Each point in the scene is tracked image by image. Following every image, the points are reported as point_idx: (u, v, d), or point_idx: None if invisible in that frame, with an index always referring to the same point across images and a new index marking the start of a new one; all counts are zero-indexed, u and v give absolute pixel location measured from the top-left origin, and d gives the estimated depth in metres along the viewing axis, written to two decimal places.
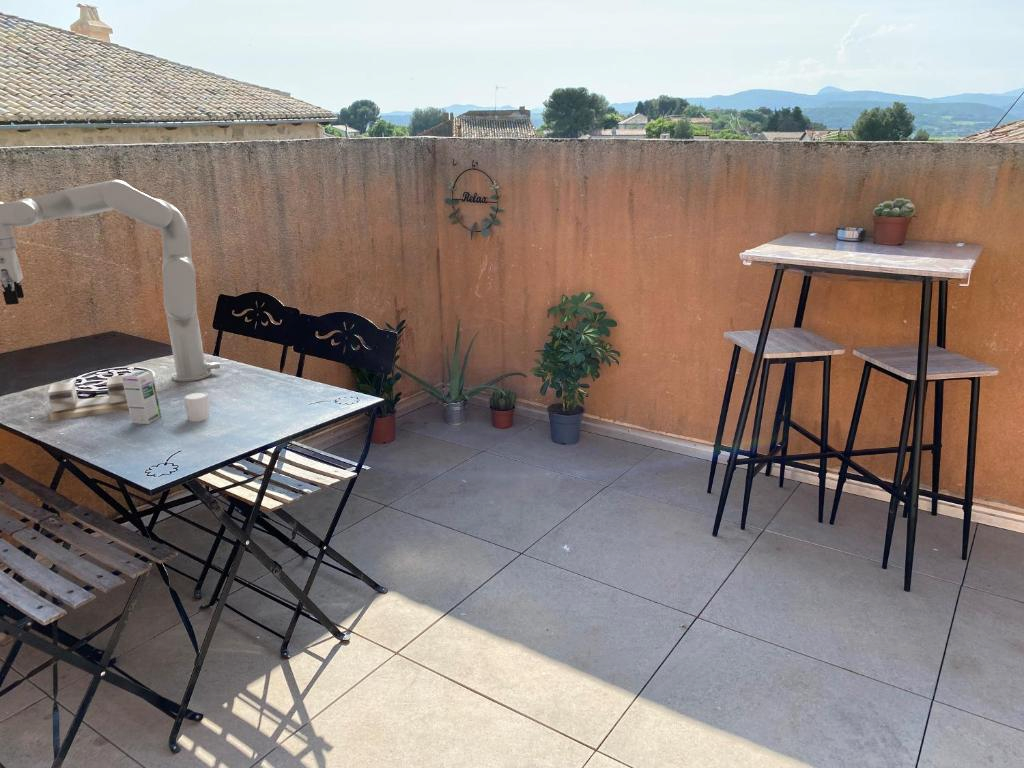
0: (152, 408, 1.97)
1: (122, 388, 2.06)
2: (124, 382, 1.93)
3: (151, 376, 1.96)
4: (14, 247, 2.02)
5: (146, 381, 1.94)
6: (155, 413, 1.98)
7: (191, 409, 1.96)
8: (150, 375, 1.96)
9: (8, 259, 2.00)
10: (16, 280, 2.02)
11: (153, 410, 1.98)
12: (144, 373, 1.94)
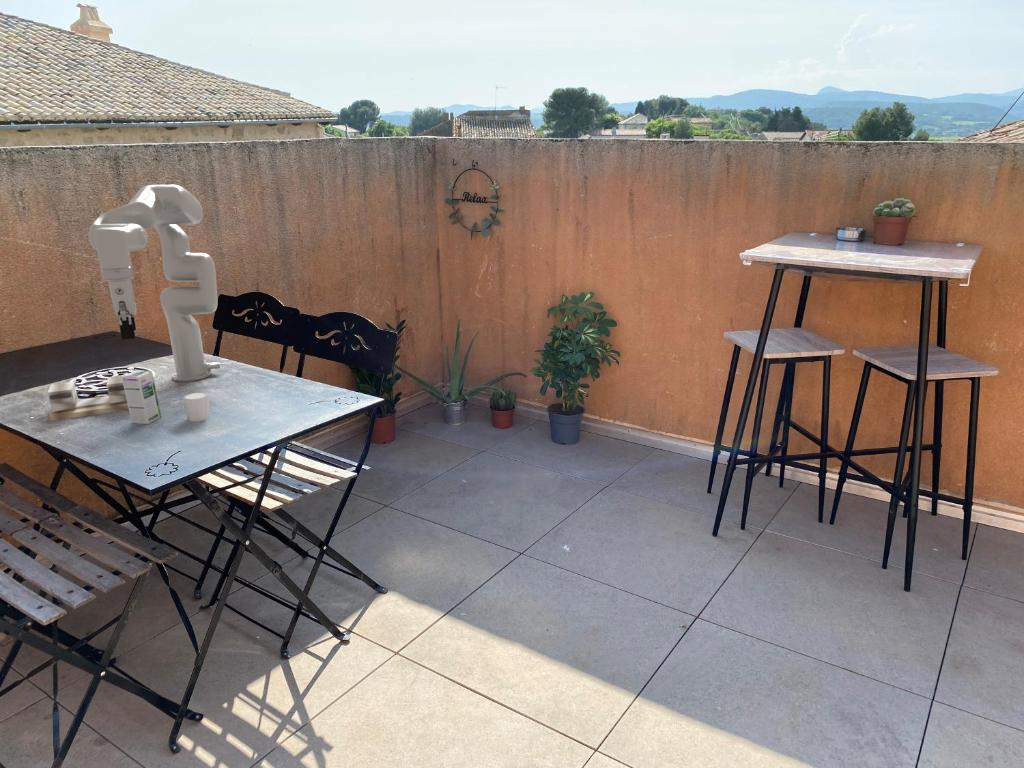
0: (152, 408, 1.97)
1: (122, 388, 2.06)
2: (124, 382, 1.93)
3: (151, 376, 1.96)
4: (131, 276, 1.85)
5: (146, 381, 1.94)
6: (155, 413, 1.98)
7: (191, 409, 1.96)
8: (150, 375, 1.96)
9: (126, 290, 1.83)
10: (134, 313, 1.85)
11: (153, 410, 1.98)
12: (144, 373, 1.94)
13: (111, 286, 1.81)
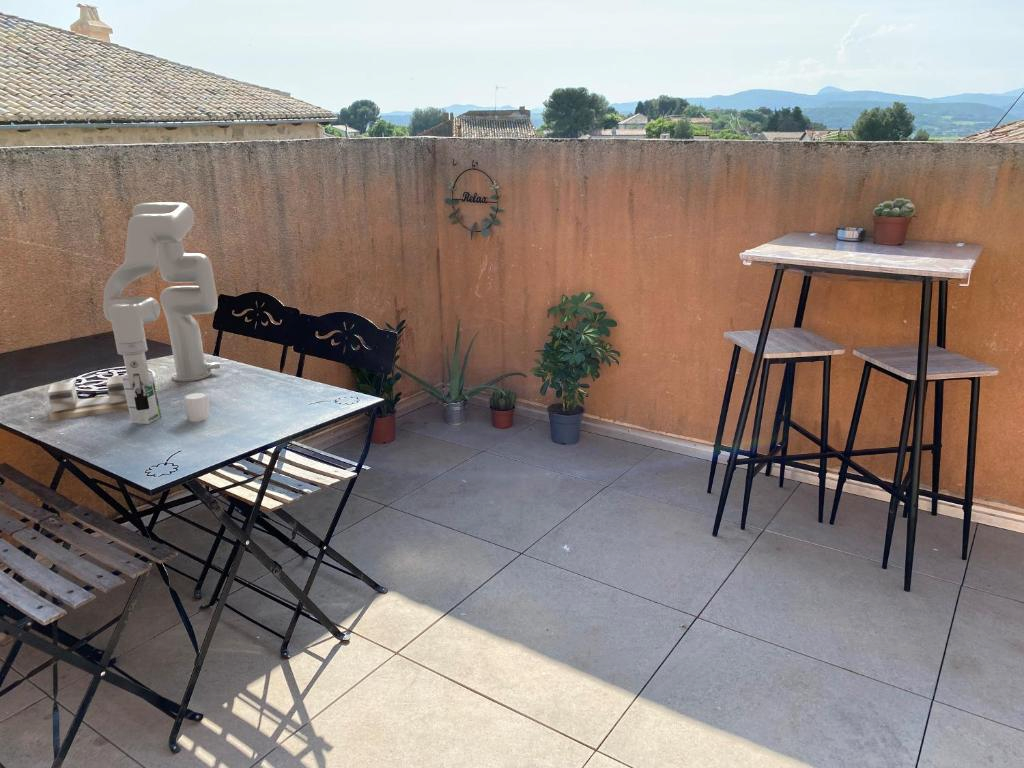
0: (152, 408, 1.97)
1: (122, 388, 2.06)
2: (124, 382, 1.93)
3: (151, 376, 1.96)
4: (145, 349, 1.92)
5: None
6: (155, 413, 1.98)
7: (191, 409, 1.96)
8: (150, 375, 1.96)
9: (140, 363, 1.89)
10: (147, 384, 1.92)
11: (153, 410, 1.98)
12: None
13: (126, 360, 1.88)
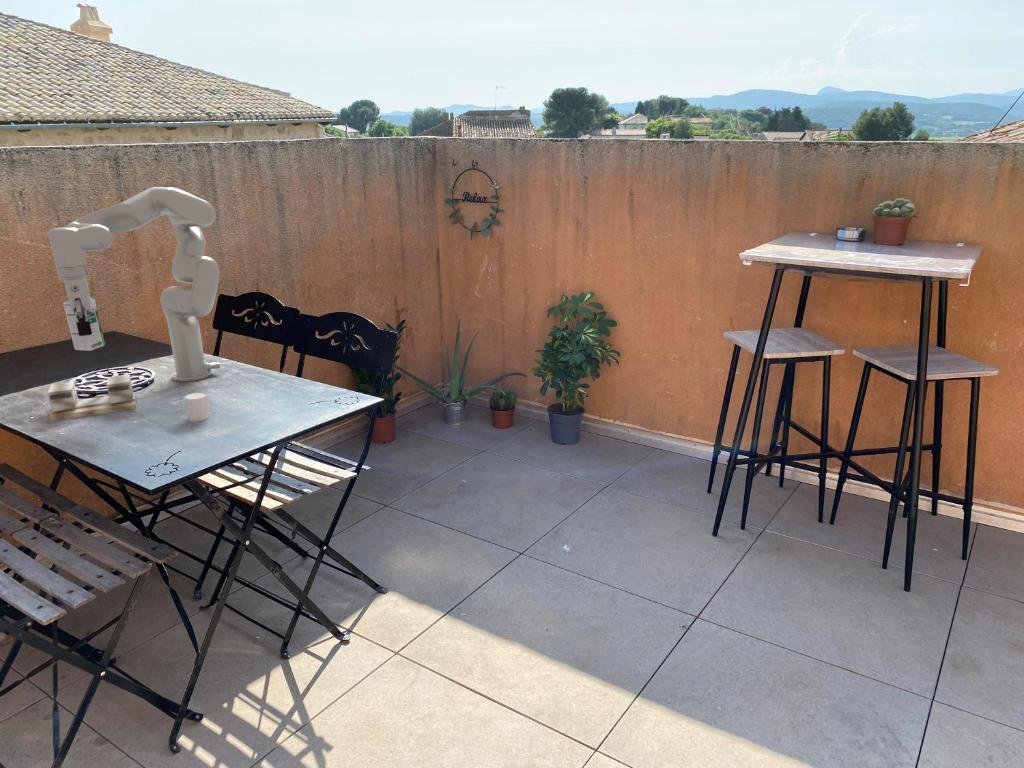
0: (95, 335, 1.98)
1: (122, 388, 2.06)
2: (66, 308, 1.94)
3: (93, 303, 1.97)
4: (87, 274, 1.93)
5: None
6: (98, 341, 2.00)
7: (191, 409, 1.96)
8: (93, 302, 1.97)
9: (82, 287, 1.91)
10: (89, 309, 1.93)
11: (97, 337, 1.99)
12: None
13: (66, 284, 1.89)
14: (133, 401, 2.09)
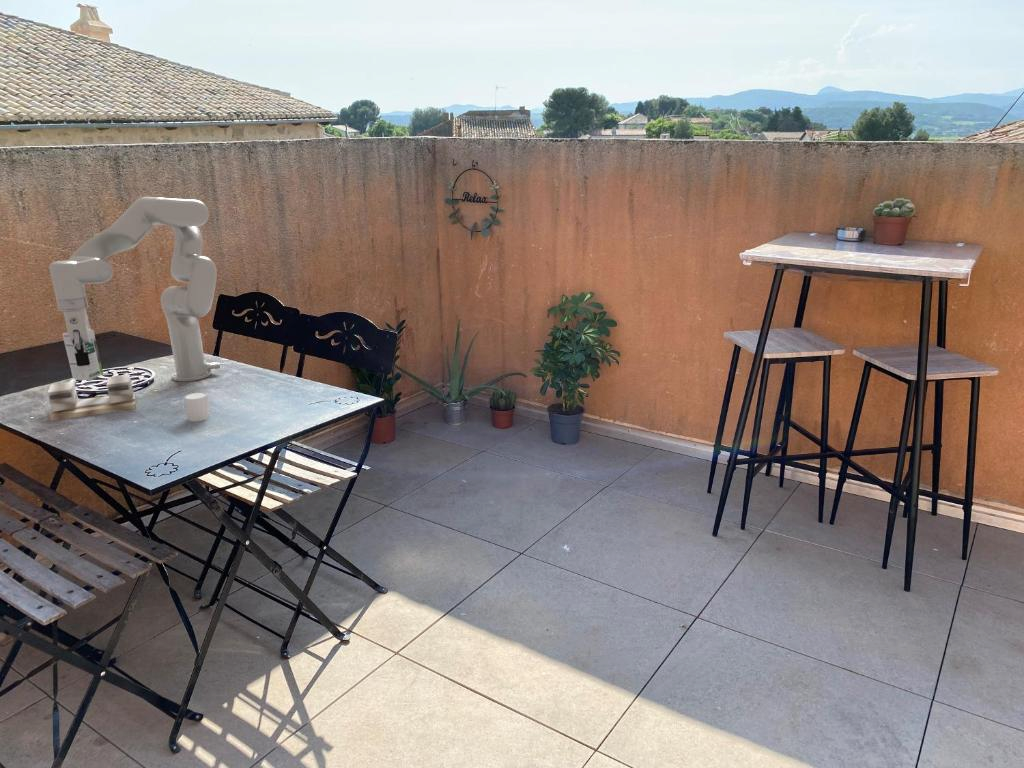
0: (93, 365, 2.03)
1: (122, 388, 2.06)
2: (65, 339, 1.98)
3: (92, 334, 2.02)
4: (86, 306, 1.98)
5: None
6: (96, 370, 2.04)
7: (191, 409, 1.96)
8: (91, 333, 2.02)
9: (80, 319, 1.95)
10: (87, 340, 1.98)
11: (95, 367, 2.03)
12: None
13: (66, 316, 1.94)
14: (133, 401, 2.09)
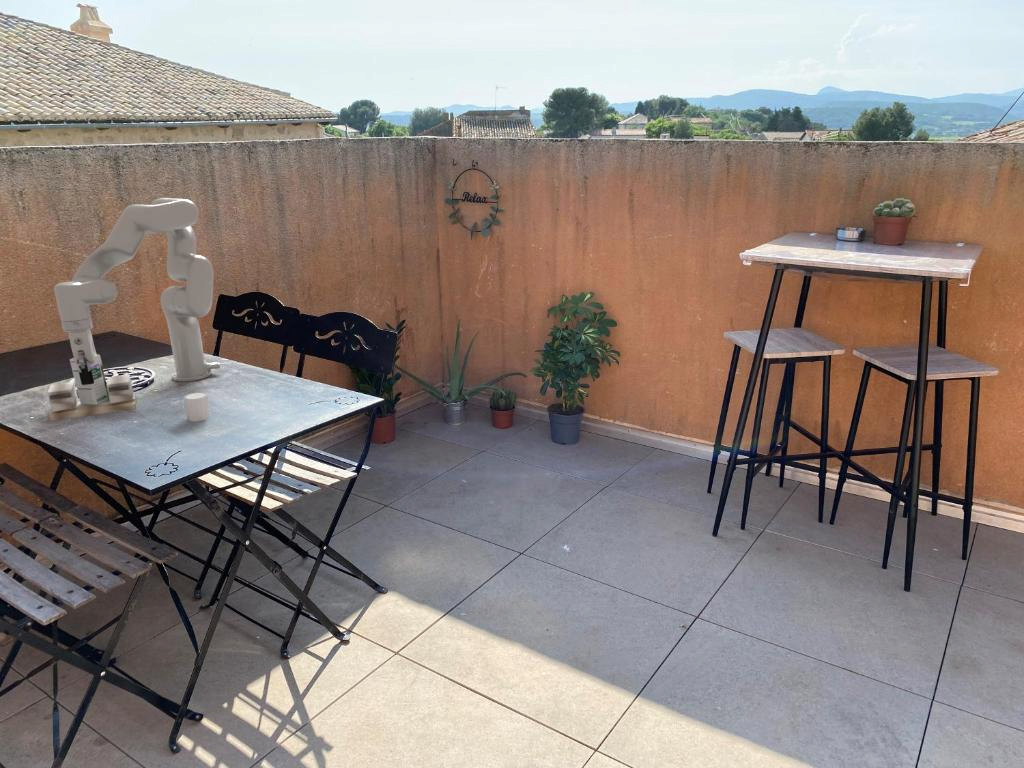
0: (100, 389, 2.06)
1: (122, 388, 2.06)
2: (72, 364, 2.01)
3: (99, 359, 2.05)
4: (90, 327, 2.00)
5: (94, 364, 2.03)
6: (103, 395, 2.07)
7: (191, 409, 1.96)
8: (98, 358, 2.05)
9: (85, 340, 1.97)
10: (92, 360, 2.00)
11: (102, 391, 2.06)
12: None
13: (70, 337, 1.96)
14: (133, 401, 2.09)
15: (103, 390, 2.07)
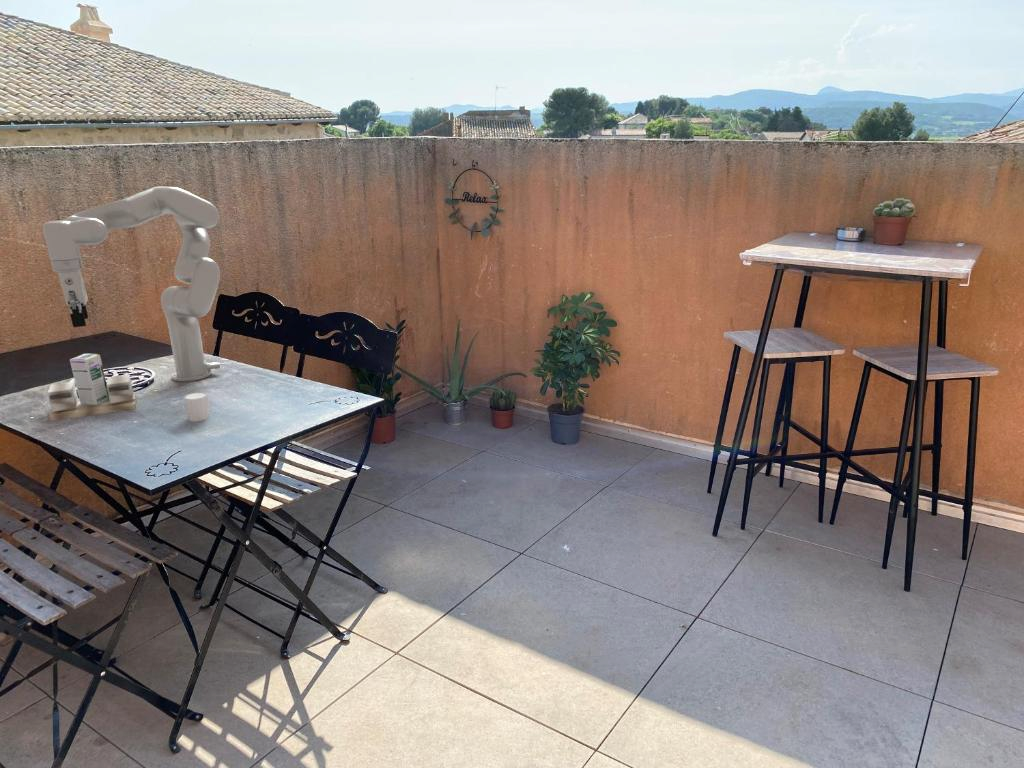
0: (100, 389, 2.06)
1: (122, 388, 2.06)
2: (72, 364, 2.01)
3: (99, 359, 2.05)
4: (81, 267, 1.95)
5: (94, 364, 2.03)
6: (103, 395, 2.07)
7: (191, 409, 1.96)
8: (98, 358, 2.05)
9: (75, 280, 1.93)
10: (83, 302, 1.96)
11: (102, 391, 2.06)
12: (91, 356, 2.03)
13: (61, 277, 1.92)
14: (133, 401, 2.09)
15: (103, 390, 2.07)
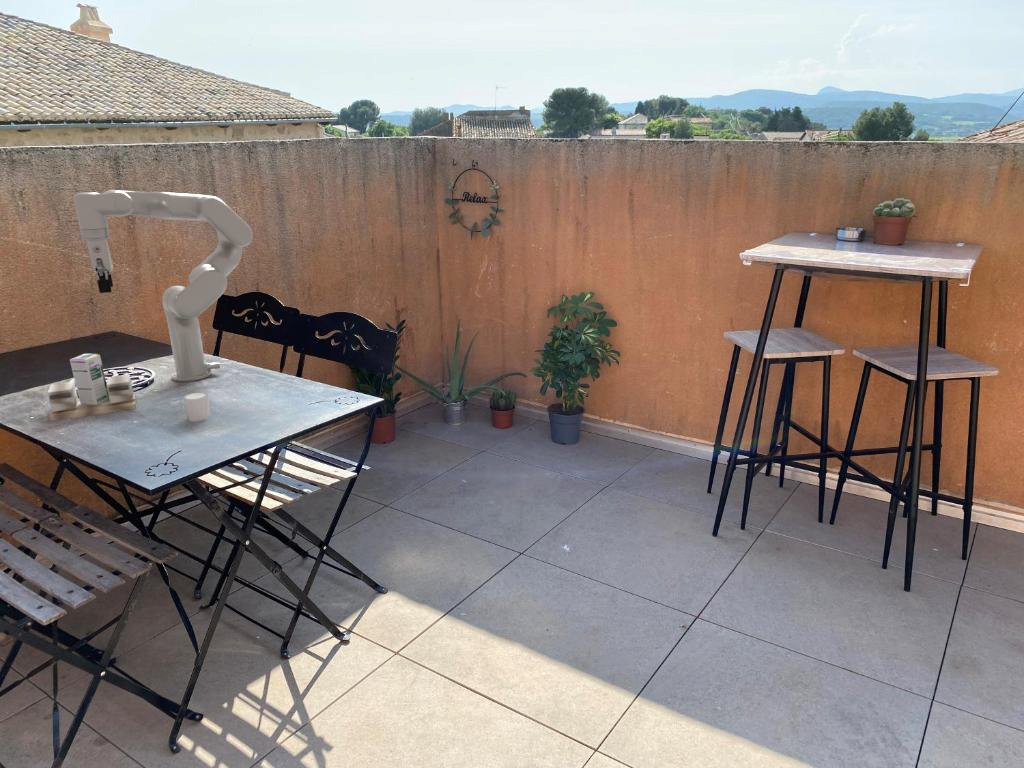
0: (100, 389, 2.06)
1: (122, 388, 2.06)
2: (72, 364, 2.01)
3: (99, 359, 2.05)
4: (108, 237, 2.08)
5: (94, 364, 2.03)
6: (103, 395, 2.07)
7: (191, 409, 1.96)
8: (98, 358, 2.05)
9: (103, 248, 2.06)
10: (110, 269, 2.08)
11: (102, 391, 2.06)
12: (91, 356, 2.03)
13: (89, 245, 2.04)
14: (133, 401, 2.09)
15: (103, 390, 2.07)
